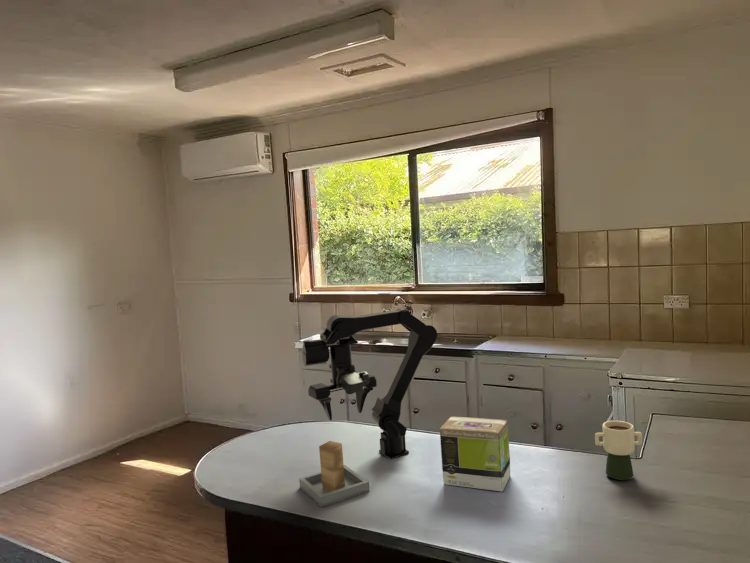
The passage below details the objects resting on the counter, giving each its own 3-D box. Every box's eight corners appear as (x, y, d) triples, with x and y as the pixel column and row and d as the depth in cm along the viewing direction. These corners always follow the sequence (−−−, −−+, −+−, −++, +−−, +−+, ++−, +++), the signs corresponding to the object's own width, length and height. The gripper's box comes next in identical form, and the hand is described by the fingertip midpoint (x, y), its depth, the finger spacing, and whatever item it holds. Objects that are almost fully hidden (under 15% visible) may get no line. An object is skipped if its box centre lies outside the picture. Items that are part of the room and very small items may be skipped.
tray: (345, 473, 154) (344, 464, 154) (369, 491, 143) (368, 481, 142) (299, 487, 147) (299, 478, 147) (321, 507, 136) (320, 497, 136)
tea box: (511, 475, 146) (508, 418, 145) (502, 493, 137) (499, 433, 136) (454, 468, 153) (450, 414, 151) (442, 485, 143) (438, 427, 142)
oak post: (333, 482, 148) (329, 440, 147) (345, 485, 145) (341, 443, 144) (322, 488, 145) (319, 446, 143) (334, 492, 142) (331, 449, 141)
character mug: (638, 470, 144) (637, 419, 143) (647, 483, 137) (646, 430, 136) (592, 470, 146) (591, 420, 144) (599, 483, 139) (598, 431, 137)
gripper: (322, 372, 147) (327, 432, 149) (385, 360, 157) (389, 416, 158) (305, 365, 157) (309, 421, 158) (365, 353, 166) (369, 406, 168)
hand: (345, 416), depth 160 cm, fingers open, 9 cm apart
